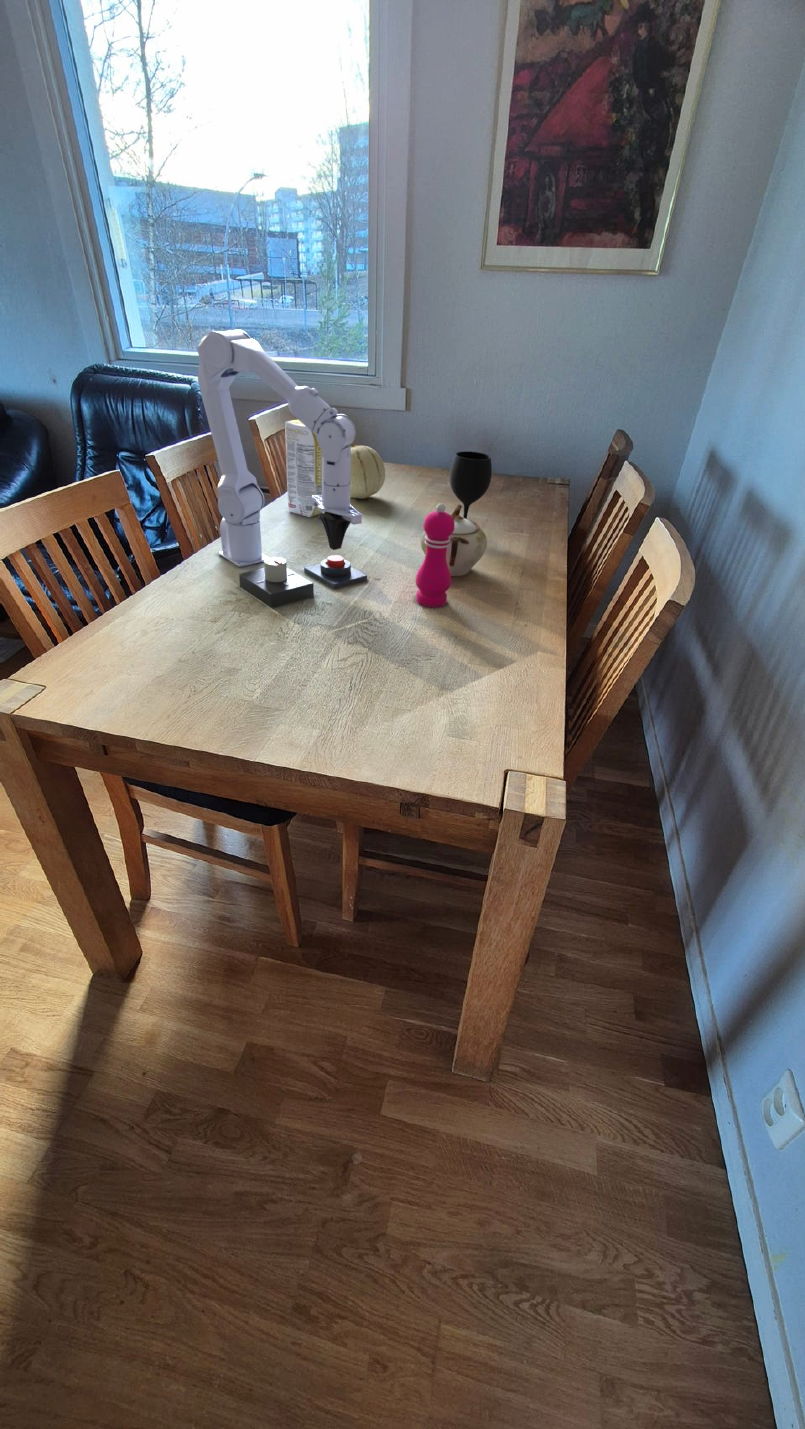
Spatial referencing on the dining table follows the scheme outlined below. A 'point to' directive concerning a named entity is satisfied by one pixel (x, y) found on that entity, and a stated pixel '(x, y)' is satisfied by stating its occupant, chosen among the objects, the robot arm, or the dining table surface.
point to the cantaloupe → (365, 472)
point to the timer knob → (275, 569)
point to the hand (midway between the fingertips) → (335, 548)
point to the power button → (335, 561)
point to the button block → (335, 574)
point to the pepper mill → (435, 559)
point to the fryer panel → (276, 587)
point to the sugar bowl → (462, 545)
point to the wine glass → (470, 477)
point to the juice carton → (302, 468)
